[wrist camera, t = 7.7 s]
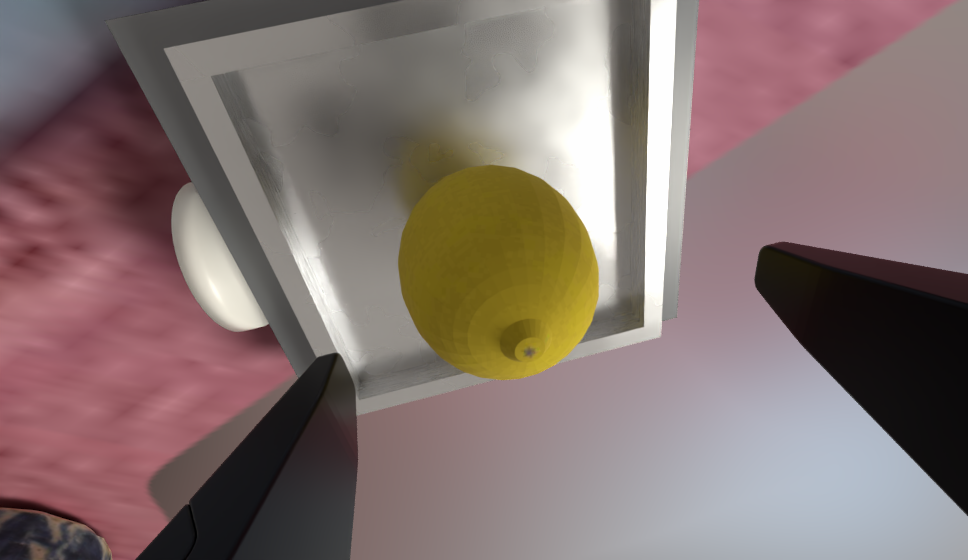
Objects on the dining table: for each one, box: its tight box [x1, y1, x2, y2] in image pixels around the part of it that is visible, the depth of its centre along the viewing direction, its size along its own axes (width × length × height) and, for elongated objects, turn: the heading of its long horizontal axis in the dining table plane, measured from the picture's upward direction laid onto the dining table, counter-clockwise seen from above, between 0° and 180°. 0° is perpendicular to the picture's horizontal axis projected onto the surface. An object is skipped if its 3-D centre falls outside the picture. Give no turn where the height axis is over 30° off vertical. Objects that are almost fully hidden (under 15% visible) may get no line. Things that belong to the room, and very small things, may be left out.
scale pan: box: [164, 0, 677, 416], centre depth 16 cm, size 14×14×2 cm
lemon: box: [398, 165, 599, 380], centre depth 13 cm, size 6×6×8 cm
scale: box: [105, 0, 699, 378], centre depth 18 cm, size 19×16×6 cm
